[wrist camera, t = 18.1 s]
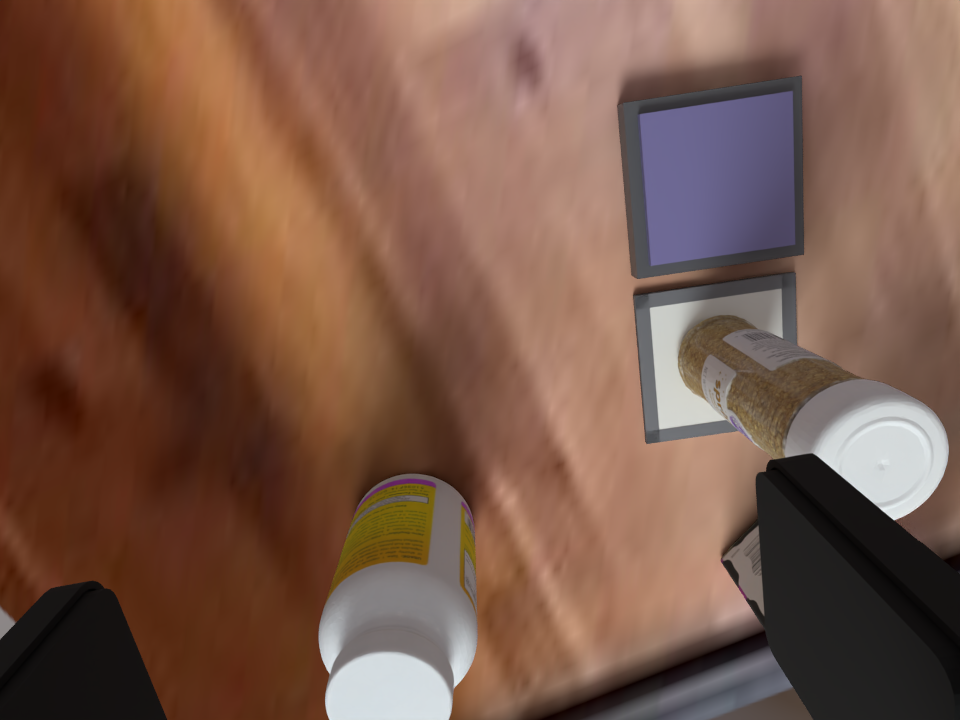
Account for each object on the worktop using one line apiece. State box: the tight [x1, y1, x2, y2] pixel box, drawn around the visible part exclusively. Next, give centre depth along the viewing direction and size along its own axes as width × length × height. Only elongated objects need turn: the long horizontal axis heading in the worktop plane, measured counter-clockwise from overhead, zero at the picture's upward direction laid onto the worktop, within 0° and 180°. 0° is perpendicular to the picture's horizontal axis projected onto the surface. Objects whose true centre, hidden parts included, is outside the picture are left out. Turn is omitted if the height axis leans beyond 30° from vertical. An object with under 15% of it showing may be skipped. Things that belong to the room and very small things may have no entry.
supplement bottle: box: [319, 474, 477, 720], centre depth 30 cm, size 7×7×13 cm
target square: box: [633, 272, 797, 444], centre depth 34 cm, size 8×8×1 cm
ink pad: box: [617, 76, 804, 279], centre depth 31 cm, size 8×8×2 cm
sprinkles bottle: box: [678, 315, 949, 520], centre depth 27 cm, size 5×5×13 cm
